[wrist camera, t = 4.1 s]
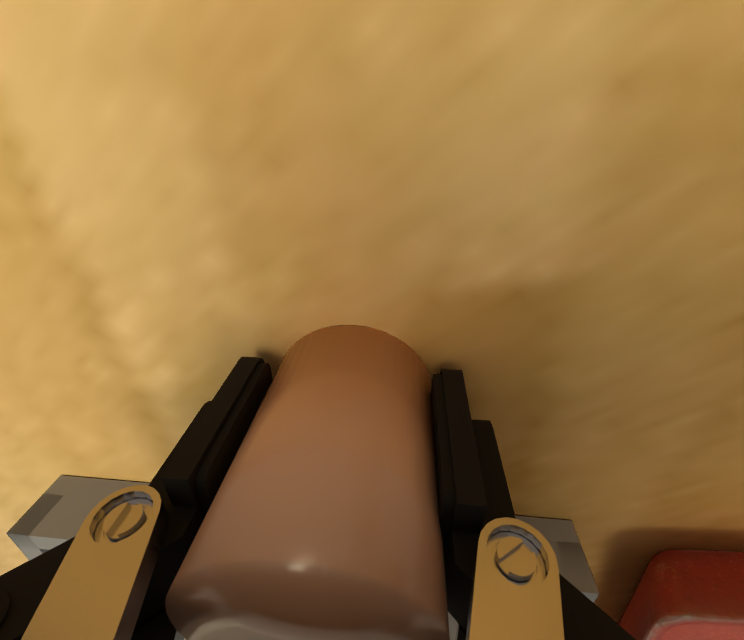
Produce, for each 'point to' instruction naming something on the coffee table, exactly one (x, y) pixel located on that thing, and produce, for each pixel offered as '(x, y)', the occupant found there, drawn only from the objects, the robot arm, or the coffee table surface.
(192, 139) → the coffee table surface
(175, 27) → the coffee table surface
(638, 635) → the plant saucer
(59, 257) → the coffee table surface
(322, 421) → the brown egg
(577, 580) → the gray divided tray
